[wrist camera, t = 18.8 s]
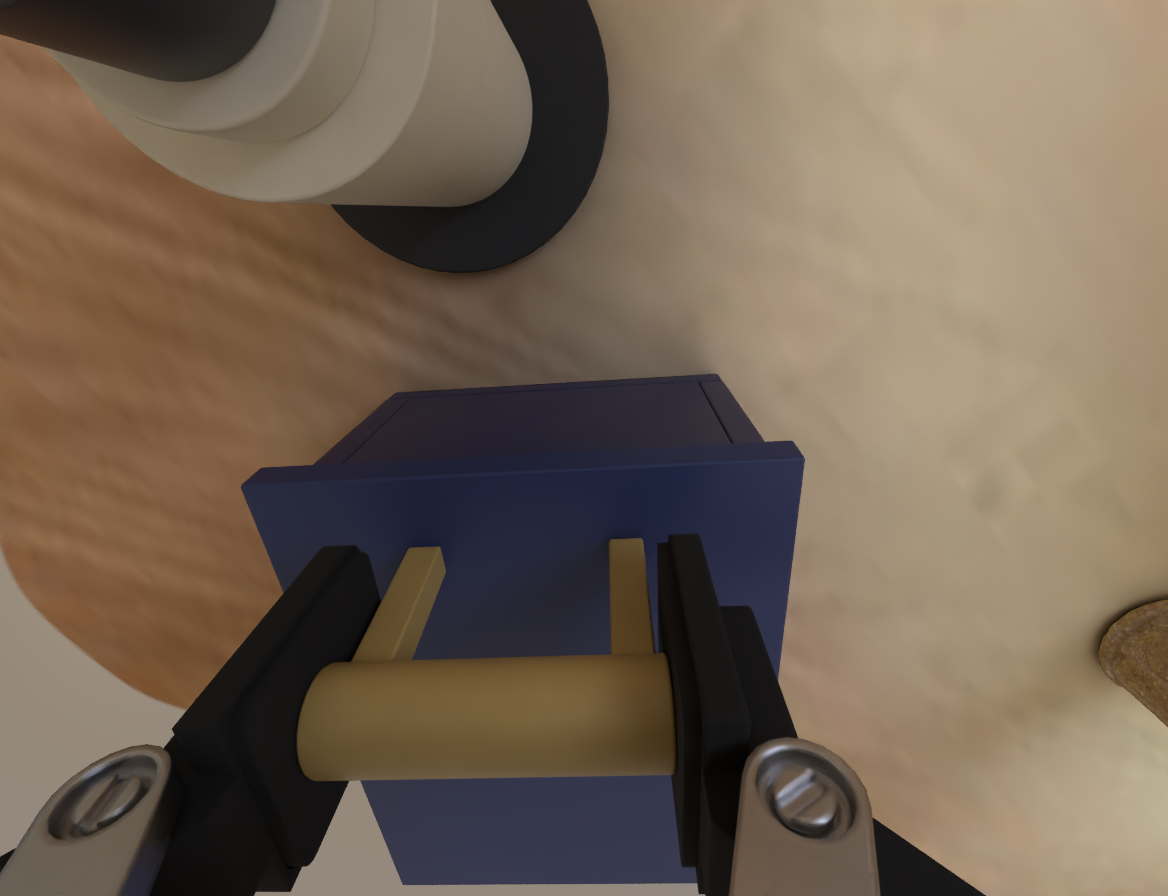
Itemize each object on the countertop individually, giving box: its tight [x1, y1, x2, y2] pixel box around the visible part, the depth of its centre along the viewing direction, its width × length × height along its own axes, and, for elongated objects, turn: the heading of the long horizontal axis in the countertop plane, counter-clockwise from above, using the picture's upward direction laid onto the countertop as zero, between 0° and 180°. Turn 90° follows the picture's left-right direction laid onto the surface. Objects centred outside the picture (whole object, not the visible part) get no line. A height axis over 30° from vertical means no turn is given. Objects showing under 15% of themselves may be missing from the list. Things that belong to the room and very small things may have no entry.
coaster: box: [331, 0, 609, 273], centre depth 15 cm, size 9×9×1 cm
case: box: [313, 374, 765, 465], centre depth 18 cm, size 14×11×7 cm
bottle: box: [0, 0, 532, 207], centre depth 9 cm, size 5×5×13 cm
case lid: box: [241, 441, 805, 885], centre depth 12 cm, size 15×11×5 cm
